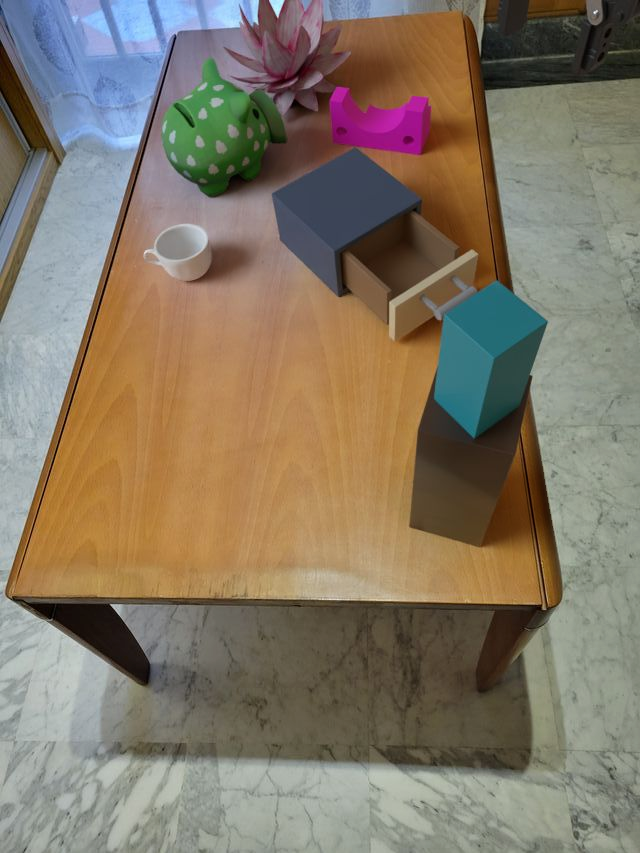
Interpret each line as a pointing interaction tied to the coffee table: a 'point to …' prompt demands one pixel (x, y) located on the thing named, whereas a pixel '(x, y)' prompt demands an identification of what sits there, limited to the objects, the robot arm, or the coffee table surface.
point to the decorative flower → (290, 52)
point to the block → (486, 357)
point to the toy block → (380, 124)
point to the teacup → (182, 251)
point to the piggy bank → (220, 132)
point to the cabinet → (338, 211)
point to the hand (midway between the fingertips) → (546, 49)
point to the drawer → (408, 273)
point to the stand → (461, 471)
